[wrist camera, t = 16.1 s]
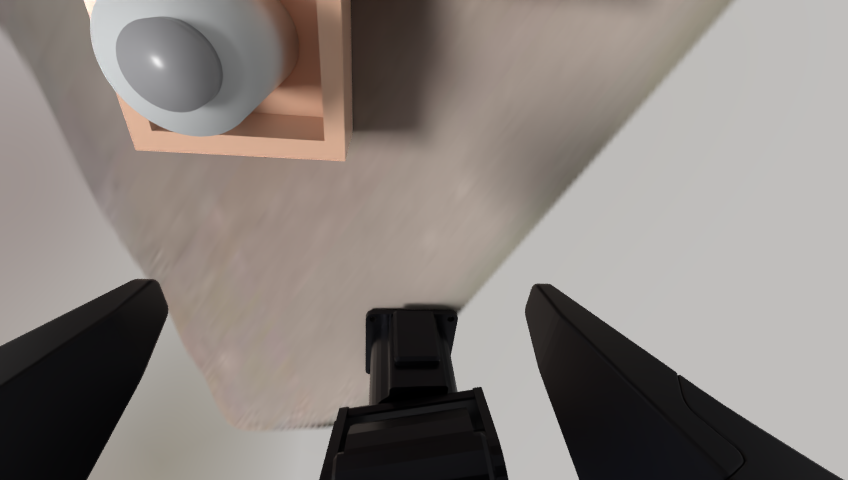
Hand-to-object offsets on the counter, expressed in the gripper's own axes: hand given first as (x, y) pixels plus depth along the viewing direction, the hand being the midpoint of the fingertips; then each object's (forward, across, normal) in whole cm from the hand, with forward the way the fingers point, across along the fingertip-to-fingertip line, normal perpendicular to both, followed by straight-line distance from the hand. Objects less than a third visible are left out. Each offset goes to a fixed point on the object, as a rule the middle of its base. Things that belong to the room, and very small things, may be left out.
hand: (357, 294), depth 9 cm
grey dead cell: (+11, +5, -4) cm, 13 cm away
